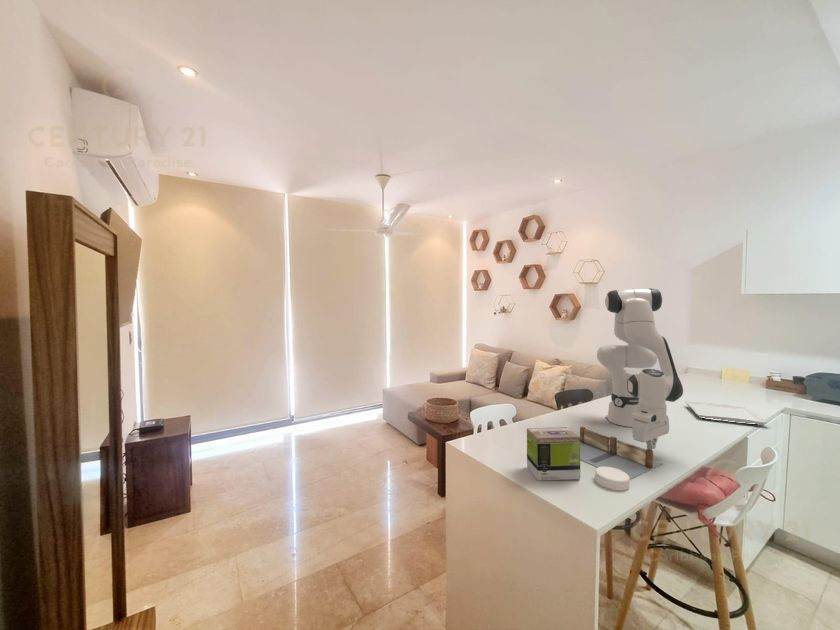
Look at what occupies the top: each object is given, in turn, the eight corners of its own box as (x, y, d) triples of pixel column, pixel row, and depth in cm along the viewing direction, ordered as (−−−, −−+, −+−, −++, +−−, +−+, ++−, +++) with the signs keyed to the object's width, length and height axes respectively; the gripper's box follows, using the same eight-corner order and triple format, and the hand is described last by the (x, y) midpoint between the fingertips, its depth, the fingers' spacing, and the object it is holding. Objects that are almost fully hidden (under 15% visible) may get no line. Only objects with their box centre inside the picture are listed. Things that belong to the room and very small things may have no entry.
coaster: (601, 490, 107) (601, 479, 107) (590, 474, 117) (590, 464, 117) (635, 493, 106) (635, 482, 106) (621, 477, 116) (621, 467, 116)
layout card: (591, 438, 149) (591, 437, 149) (662, 463, 125) (663, 462, 125) (556, 449, 137) (556, 448, 137) (627, 480, 113) (627, 479, 113)
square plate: (683, 406, 199) (683, 400, 199) (744, 413, 187) (745, 406, 187) (697, 420, 174) (697, 413, 174) (768, 429, 162) (769, 421, 162)
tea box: (566, 466, 123) (567, 426, 123) (580, 480, 113) (581, 437, 112) (525, 467, 122) (526, 426, 122) (536, 481, 112) (537, 437, 112)
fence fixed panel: (582, 441, 146) (582, 426, 146) (617, 454, 133) (618, 438, 133) (578, 442, 145) (578, 427, 144) (614, 456, 132) (614, 439, 131)
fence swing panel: (615, 455, 131) (615, 439, 131) (618, 454, 132) (618, 438, 132) (650, 468, 120) (651, 452, 120) (653, 467, 122) (654, 450, 121)
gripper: (656, 406, 136) (655, 440, 136) (629, 414, 126) (628, 451, 126) (674, 410, 131) (673, 446, 131) (647, 419, 120) (646, 457, 120)
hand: (651, 448), depth 128 cm, fingers closed
